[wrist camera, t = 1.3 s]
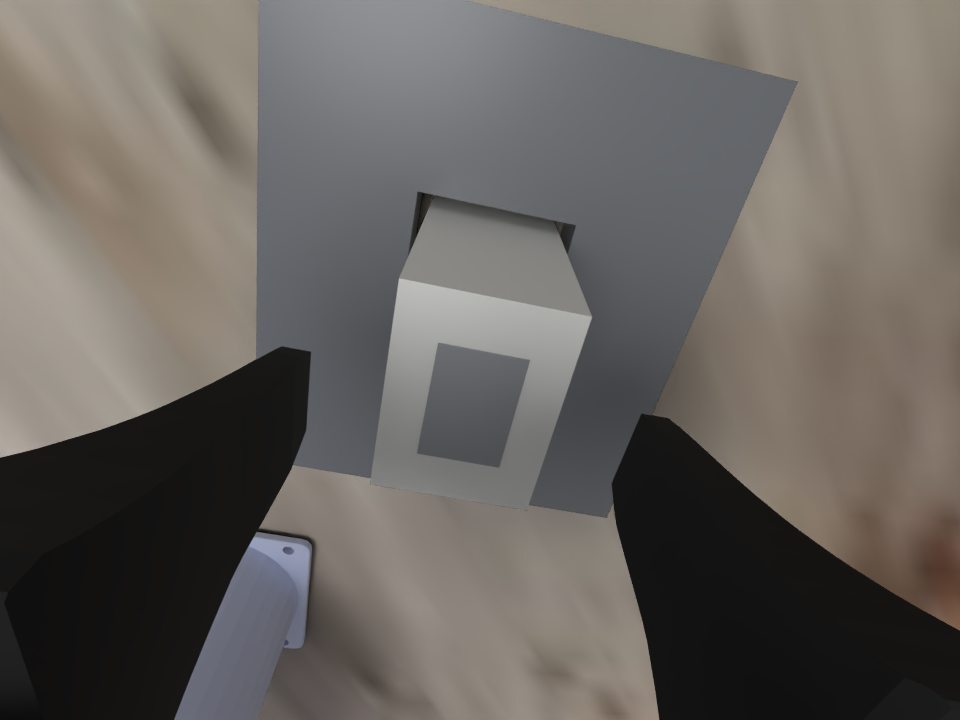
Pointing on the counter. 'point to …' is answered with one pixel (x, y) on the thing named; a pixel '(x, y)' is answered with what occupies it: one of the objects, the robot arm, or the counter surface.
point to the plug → (478, 355)
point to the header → (492, 198)
